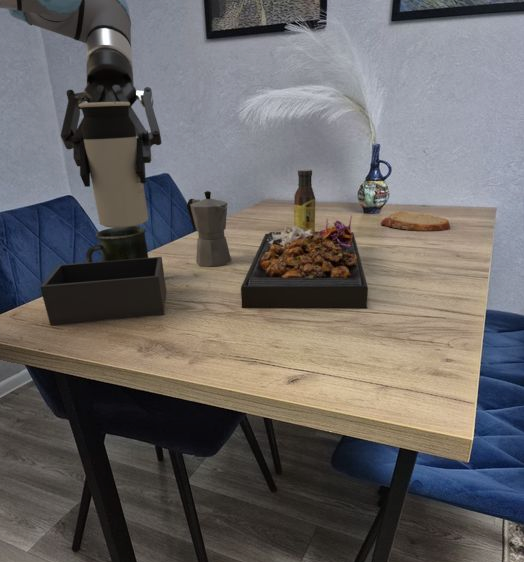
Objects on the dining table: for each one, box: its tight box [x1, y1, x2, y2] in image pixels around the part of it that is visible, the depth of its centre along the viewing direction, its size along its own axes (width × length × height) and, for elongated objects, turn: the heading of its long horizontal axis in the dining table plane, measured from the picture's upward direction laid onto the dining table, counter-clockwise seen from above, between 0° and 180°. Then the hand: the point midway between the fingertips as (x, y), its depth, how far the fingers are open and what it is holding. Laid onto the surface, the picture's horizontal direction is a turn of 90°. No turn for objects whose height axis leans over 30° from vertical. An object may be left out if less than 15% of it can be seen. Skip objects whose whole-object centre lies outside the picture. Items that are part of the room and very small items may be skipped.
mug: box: [85, 225, 149, 263], centre depth 109 cm, size 11×15×12 cm
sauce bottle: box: [293, 169, 316, 232], centre depth 138 cm, size 6×6×20 cm
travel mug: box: [79, 102, 149, 229], centre depth 75 cm, size 8×8×18 cm
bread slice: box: [380, 211, 451, 232], centre depth 152 cm, size 18×18×4 cm
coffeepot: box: [186, 190, 232, 268], centre depth 121 cm, size 15×9×18 cm, turn 45°
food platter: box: [240, 215, 369, 309], centre depth 111 cm, size 45×25×10 cm, turn 174°
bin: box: [39, 256, 167, 326], centre depth 96 cm, size 22×15×8 cm
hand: (113, 179), depth 73 cm, fingers closed on travel mug, 8 cm apart
